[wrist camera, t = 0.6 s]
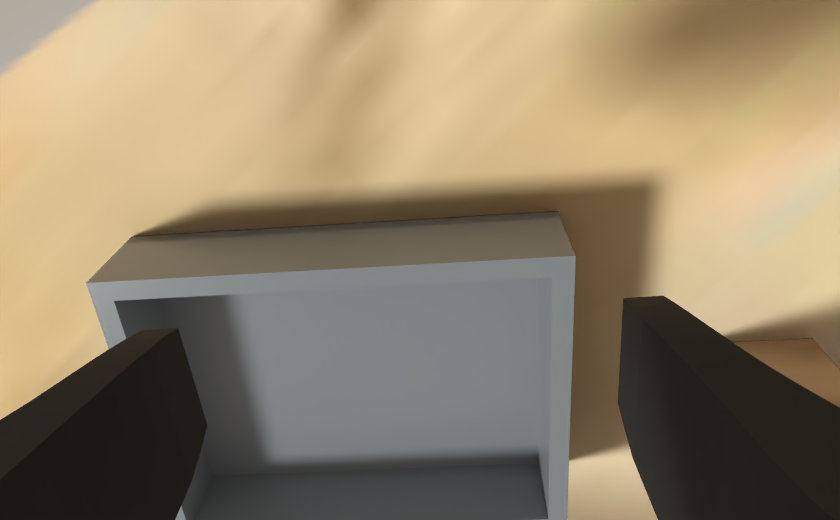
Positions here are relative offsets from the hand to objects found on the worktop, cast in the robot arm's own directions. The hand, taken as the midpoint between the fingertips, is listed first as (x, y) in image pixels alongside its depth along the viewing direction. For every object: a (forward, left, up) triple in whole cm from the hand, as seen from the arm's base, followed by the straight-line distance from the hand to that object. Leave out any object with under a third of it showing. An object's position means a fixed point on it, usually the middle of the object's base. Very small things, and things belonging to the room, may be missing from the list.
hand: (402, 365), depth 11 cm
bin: (-7, +2, -10) cm, 12 cm away
